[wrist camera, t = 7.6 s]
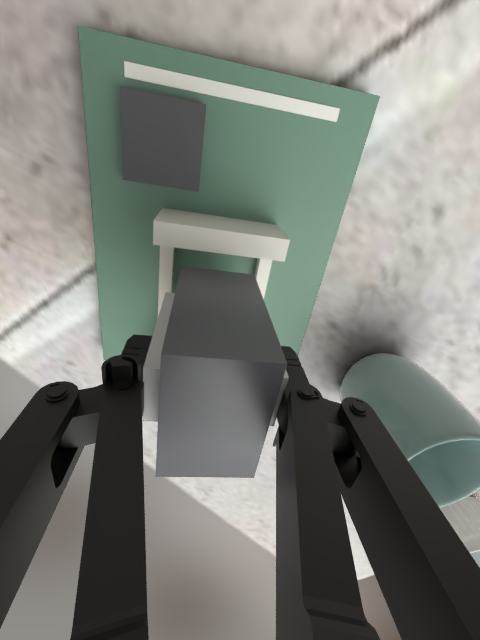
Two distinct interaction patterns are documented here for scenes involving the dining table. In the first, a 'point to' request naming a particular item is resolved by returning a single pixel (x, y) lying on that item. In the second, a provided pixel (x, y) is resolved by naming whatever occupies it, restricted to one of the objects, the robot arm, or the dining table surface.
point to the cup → (421, 423)
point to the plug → (216, 377)
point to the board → (212, 178)
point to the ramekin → (466, 523)
